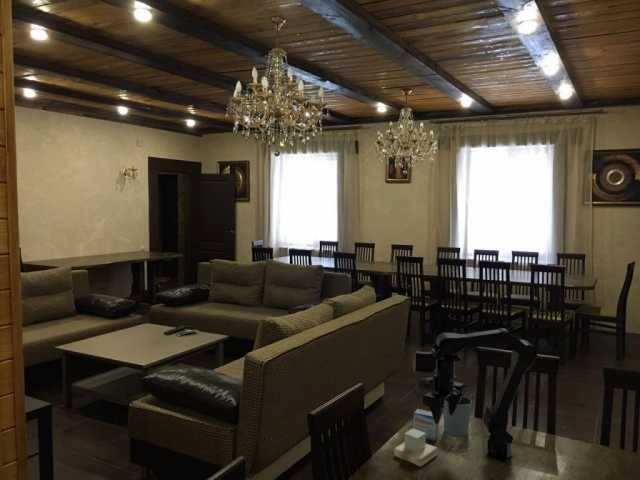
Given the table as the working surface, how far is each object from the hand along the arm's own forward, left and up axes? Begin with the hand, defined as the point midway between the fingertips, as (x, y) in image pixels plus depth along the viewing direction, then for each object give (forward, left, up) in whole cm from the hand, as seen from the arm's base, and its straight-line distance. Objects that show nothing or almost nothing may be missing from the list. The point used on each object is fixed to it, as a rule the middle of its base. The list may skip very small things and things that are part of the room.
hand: (443, 419), depth 175 cm
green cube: (+6, +7, -10) cm, 13 cm away
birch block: (+6, +7, -12) cm, 16 cm away
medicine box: (+11, -7, -12) cm, 18 cm away
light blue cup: (+5, -18, -12) cm, 22 cm away
